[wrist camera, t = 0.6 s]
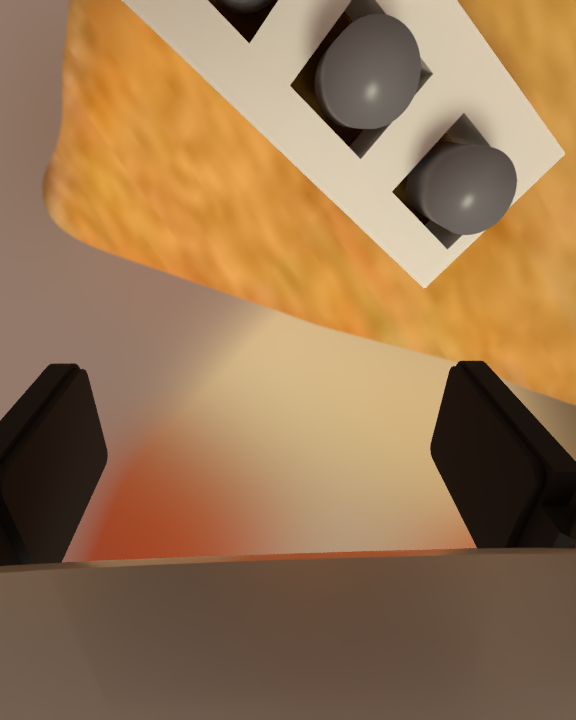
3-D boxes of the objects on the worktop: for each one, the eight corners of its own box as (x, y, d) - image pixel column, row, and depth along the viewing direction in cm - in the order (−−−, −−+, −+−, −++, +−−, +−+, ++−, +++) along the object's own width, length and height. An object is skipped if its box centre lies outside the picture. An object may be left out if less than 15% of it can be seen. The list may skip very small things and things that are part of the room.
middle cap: (353, 12, 25) (375, -14, 20) (408, 78, 27) (440, 69, 22) (298, 87, 27) (306, 80, 22) (353, 144, 28) (371, 149, 24)
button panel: (253, -198, 23) (250, -292, 18) (516, 148, 32) (565, 153, 27) (138, 13, 27) (108, -13, 22) (401, 264, 36) (424, 288, 31)
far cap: (446, 125, 28) (484, 126, 23) (489, 177, 30) (532, 188, 25) (392, 185, 30) (416, 198, 25) (435, 231, 32) (466, 251, 27)
